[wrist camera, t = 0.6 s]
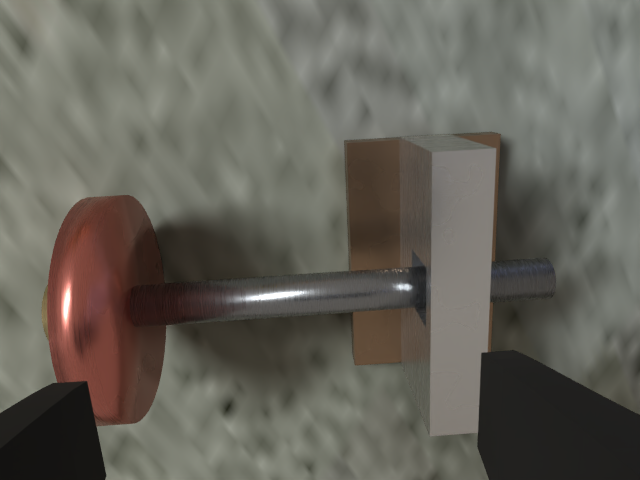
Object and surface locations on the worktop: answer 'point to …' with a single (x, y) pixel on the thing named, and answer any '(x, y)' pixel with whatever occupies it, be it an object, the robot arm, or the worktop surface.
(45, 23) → the worktop surface
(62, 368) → the red wheel with axle
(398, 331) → the eye bracket
